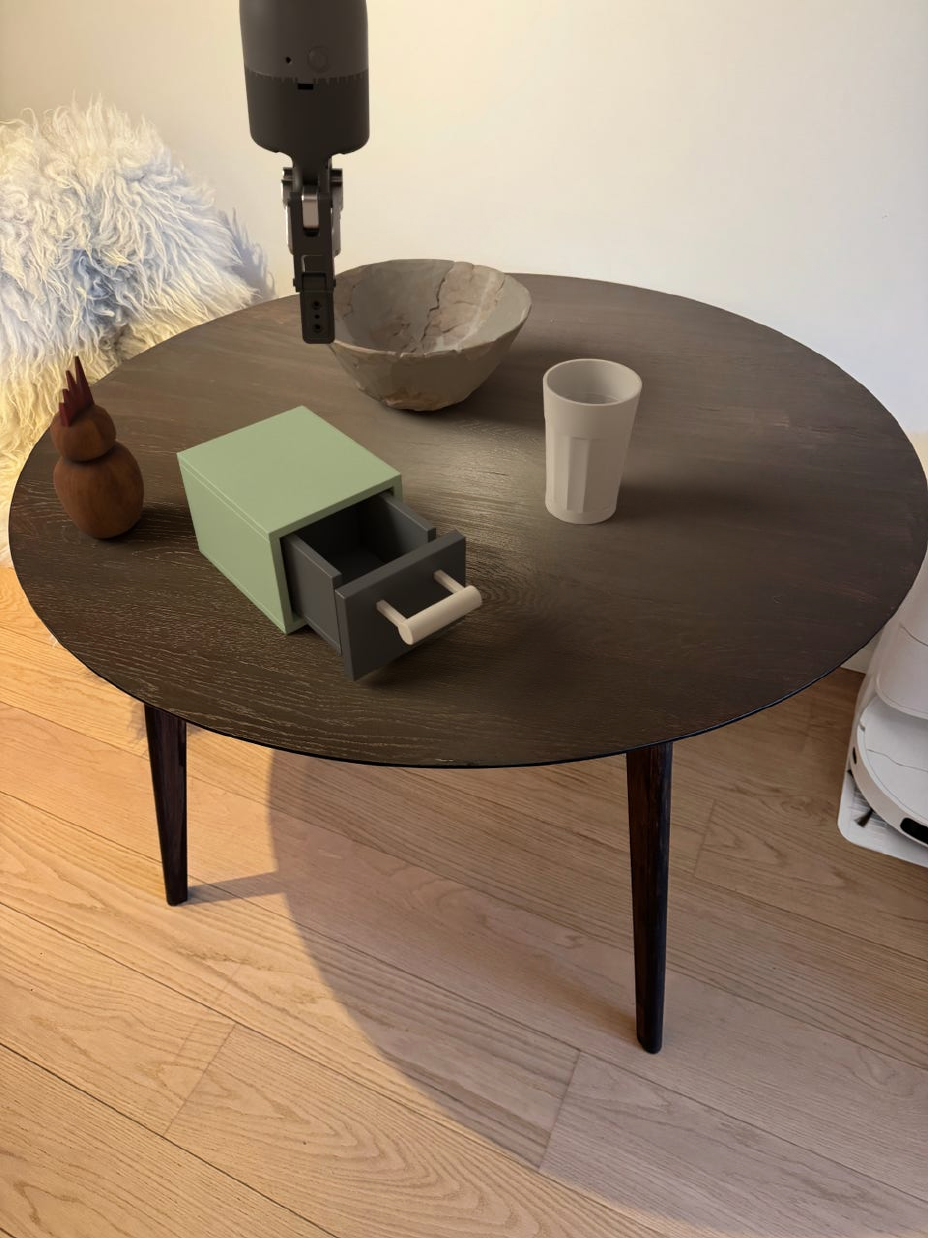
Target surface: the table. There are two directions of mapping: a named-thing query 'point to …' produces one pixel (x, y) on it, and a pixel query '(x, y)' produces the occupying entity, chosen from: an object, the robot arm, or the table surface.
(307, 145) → the robot arm
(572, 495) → the cup
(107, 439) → the wooden figurine
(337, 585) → the fryer drawer
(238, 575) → the green drawer cabinet
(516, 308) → the ceramic bowl
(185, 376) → the table surface
